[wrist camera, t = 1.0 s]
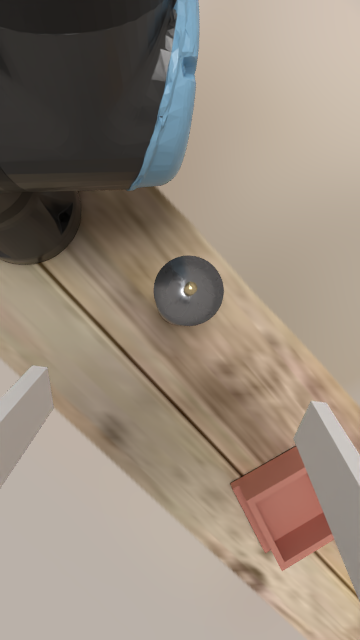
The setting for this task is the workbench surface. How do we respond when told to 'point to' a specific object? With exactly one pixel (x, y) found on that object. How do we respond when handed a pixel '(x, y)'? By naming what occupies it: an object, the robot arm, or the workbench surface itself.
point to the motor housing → (188, 291)
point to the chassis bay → (283, 508)
